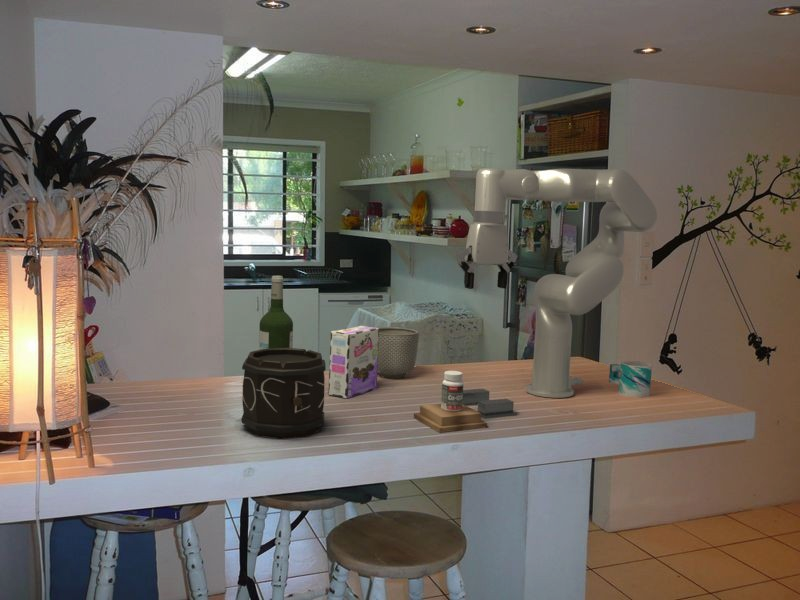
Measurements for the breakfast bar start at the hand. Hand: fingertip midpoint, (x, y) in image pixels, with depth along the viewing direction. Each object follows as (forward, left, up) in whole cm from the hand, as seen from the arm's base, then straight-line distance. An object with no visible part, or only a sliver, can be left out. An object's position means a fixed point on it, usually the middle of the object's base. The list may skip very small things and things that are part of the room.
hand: (485, 288), depth 186 cm
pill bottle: (+18, +16, -26) cm, 35 cm away
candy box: (+28, -16, -29) cm, 43 cm away
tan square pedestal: (+18, +16, -28) cm, 37 cm away
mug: (-44, +6, -29) cm, 53 cm away
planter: (+10, -30, -28) cm, 43 cm away
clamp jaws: (+4, +8, -28) cm, 30 cm away
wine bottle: (+49, -15, -28) cm, 59 cm away
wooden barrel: (+54, +8, -29) cm, 62 cm away
